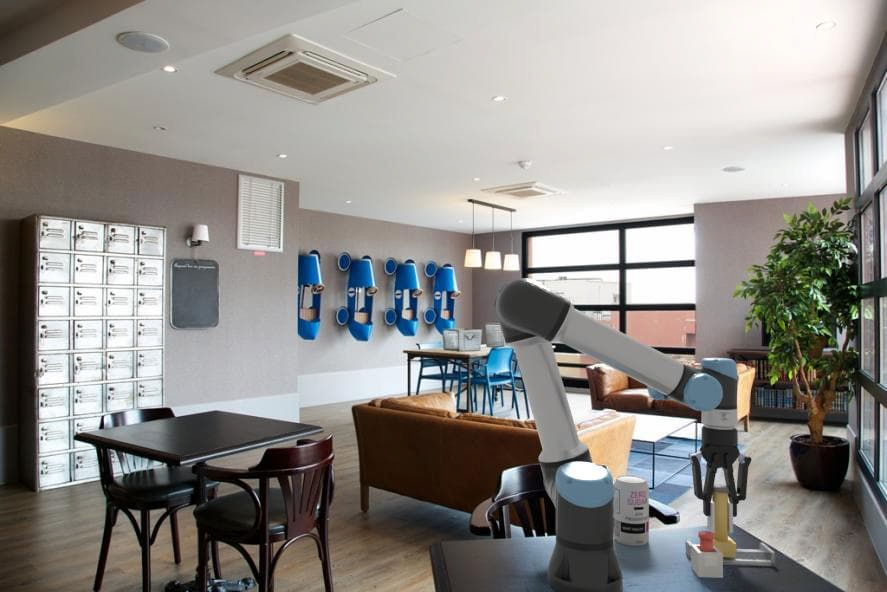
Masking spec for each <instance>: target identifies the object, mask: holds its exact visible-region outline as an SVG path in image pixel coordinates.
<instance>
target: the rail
mask: <svg viewBox="0 0 887 592" xmlns="http://www.w3.org/2000/svg"><path fill="white" fill-rule="evenodd" d="M691 544H693V543H692V542H691V541H690V540H685V554H686V556H687V557H688V558H689V560H691ZM723 565H724V566H746V567H747V566H748V567H749V566H751V567H752V566H753V567H755V566H757V567H776V552H775V551H774V550H773V549H771V548H770V547H769V546H768V545H766V544H765V543H764V542H759V549H756V548H755V549H752V548H751V549H749V548H737V553H736V557H723Z"/></svg>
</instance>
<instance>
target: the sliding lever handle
mask: <svg viewBox="0 0 887 592" xmlns="http://www.w3.org/2000/svg"><path fill="white" fill-rule="evenodd" d="M728 492H729V487H728V486H726V484H720V483H714V487H713V493H712V499H711V500H712V501H713V502H714V503H715V532H712V533H714V537H715V538H714V539H713V545H715V546H716V547H717V548H718V549H719V550H720V551H721V552H722V554H723V557H736V553H737V549H738V548H737V543H736V542H735V541H734V540H733V539H732V538H731V537H730V536H729V532H728V500H729V498H728Z"/></svg>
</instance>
